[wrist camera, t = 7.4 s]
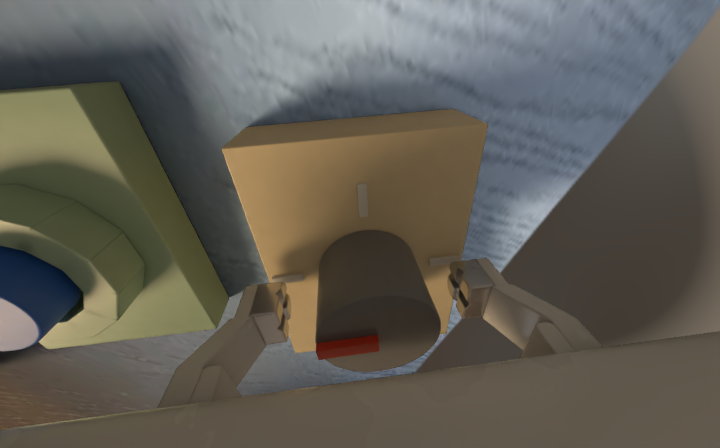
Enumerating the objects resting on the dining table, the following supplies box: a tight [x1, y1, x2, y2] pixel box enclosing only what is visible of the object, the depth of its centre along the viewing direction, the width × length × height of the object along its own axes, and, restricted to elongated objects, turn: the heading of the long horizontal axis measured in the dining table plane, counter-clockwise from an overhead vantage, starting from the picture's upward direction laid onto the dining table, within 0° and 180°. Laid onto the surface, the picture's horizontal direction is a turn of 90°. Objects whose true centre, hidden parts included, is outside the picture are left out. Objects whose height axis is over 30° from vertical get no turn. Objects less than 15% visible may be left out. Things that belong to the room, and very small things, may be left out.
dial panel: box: [222, 109, 488, 353], centre depth 13 cm, size 12×9×3 cm
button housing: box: [0, 81, 229, 349], centre depth 11 cm, size 12×9×4 cm
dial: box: [315, 230, 441, 372], centre depth 10 cm, size 4×4×4 cm
